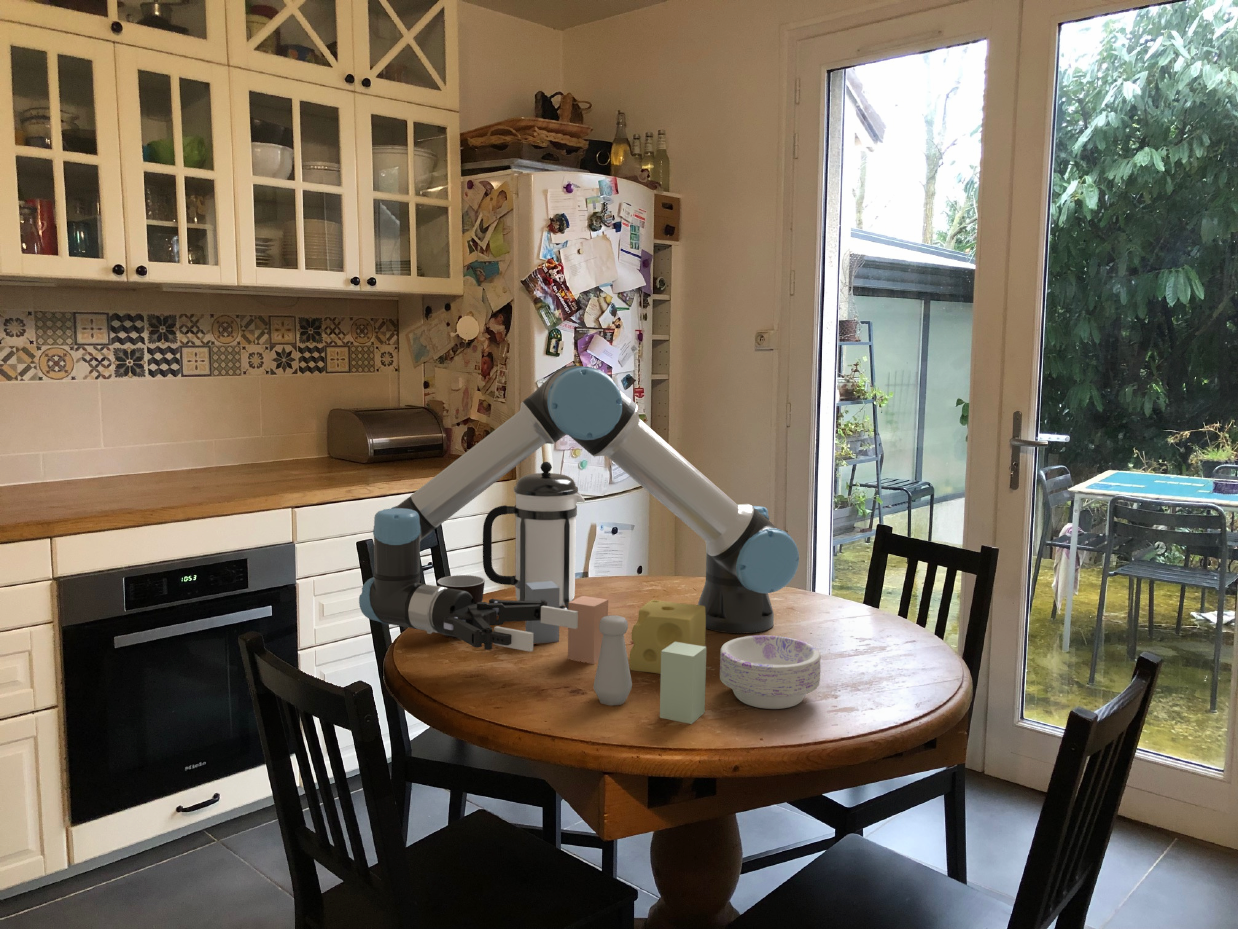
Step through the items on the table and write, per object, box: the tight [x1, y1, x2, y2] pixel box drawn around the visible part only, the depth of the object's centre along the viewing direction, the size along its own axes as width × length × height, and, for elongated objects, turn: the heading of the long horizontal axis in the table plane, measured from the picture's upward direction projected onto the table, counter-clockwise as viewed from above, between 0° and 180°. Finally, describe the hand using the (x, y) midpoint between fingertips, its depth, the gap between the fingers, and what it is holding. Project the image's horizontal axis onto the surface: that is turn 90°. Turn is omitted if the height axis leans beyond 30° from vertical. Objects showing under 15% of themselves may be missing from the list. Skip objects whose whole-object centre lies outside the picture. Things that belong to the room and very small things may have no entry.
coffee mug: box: [436, 574, 486, 640], centre depth 181 cm, size 12×9×10 cm
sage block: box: [659, 642, 707, 725], centre depth 142 cm, size 5×5×10 cm
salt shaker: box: [593, 614, 633, 706], centre depth 147 cm, size 6×6×13 cm
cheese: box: [628, 599, 707, 675], centre depth 164 cm, size 10×11×10 cm
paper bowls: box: [719, 634, 822, 710], centre depth 149 cm, size 15×15×8 cm
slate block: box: [524, 581, 560, 645], centre depth 177 cm, size 5×5×10 cm
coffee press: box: [482, 461, 586, 610], centre depth 195 cm, size 17×16×30 cm
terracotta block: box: [567, 595, 609, 665], centre depth 167 cm, size 5×5×10 cm
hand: (555, 630), depth 151 cm, fingers open, 13 cm apart
